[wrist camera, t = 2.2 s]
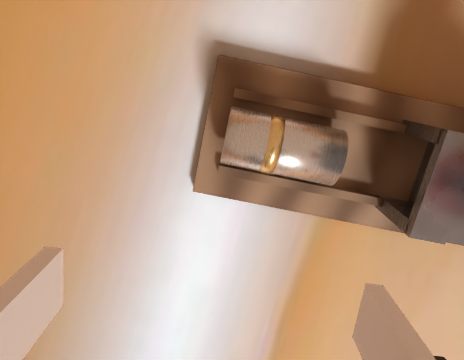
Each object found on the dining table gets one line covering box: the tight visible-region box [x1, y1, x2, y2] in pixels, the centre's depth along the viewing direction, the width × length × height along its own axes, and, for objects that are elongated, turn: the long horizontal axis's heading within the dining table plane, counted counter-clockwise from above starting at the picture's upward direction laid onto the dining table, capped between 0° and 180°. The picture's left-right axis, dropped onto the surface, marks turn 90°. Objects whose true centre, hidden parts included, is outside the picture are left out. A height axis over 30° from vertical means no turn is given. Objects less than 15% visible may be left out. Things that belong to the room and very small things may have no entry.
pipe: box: [220, 106, 348, 185], centre depth 33 cm, size 10×5×5 cm, turn 78°
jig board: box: [193, 55, 464, 233], centre depth 36 cm, size 32×13×2 cm, turn 78°
